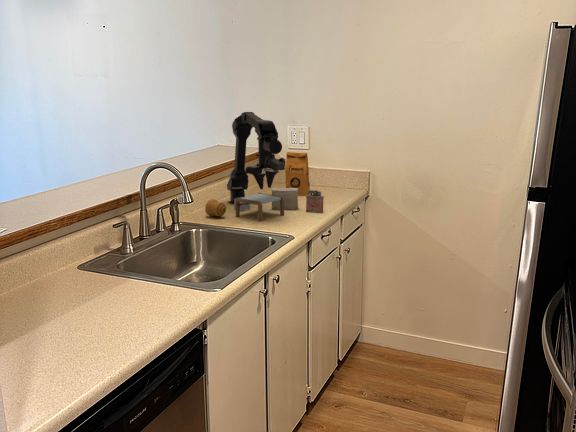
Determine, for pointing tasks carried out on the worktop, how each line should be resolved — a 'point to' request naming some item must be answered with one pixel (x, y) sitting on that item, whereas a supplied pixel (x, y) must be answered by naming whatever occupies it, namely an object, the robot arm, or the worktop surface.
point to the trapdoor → (262, 198)
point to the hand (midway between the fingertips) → (265, 188)
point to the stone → (243, 207)
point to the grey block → (286, 198)
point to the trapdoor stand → (245, 201)
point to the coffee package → (297, 172)
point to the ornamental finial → (215, 208)
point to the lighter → (314, 202)
